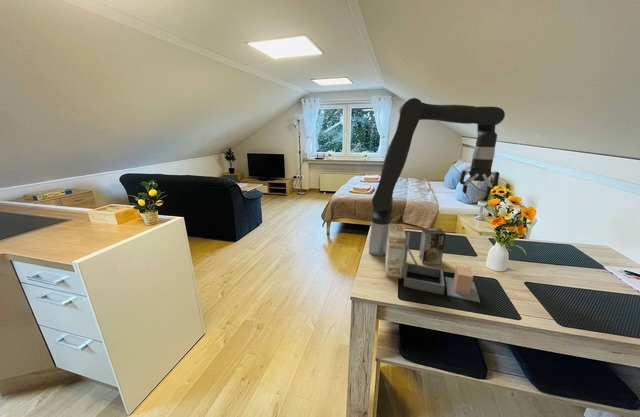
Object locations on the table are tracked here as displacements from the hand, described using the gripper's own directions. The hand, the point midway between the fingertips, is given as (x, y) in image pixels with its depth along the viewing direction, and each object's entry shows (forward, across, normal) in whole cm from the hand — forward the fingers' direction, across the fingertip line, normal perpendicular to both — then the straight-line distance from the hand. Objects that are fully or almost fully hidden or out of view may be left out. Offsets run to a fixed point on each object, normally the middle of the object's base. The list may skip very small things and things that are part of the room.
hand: (475, 194), depth 111 cm
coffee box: (+34, -15, -5) cm, 38 cm away
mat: (+34, -4, -25) cm, 42 cm away
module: (+34, -4, -25) cm, 42 cm away
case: (+34, -18, -25) cm, 46 cm away
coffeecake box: (+34, -31, -19) cm, 50 cm away
